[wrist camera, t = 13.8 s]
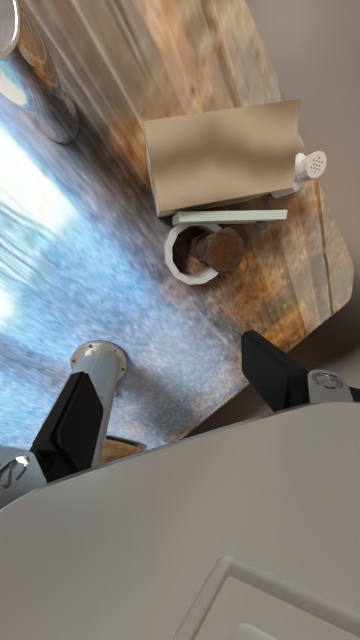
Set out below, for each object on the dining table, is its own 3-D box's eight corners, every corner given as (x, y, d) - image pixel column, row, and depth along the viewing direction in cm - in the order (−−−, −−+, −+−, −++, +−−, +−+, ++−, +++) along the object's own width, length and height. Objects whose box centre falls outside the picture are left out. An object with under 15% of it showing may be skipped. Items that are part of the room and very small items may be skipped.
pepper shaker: (261, 184, 35) (298, 167, 26) (276, 164, 34) (320, 139, 25) (273, 200, 36) (313, 188, 28) (288, 181, 35) (334, 162, 27)
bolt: (215, 245, 38) (253, 249, 24) (199, 265, 39) (228, 280, 25) (193, 226, 36) (222, 218, 22) (178, 248, 37) (196, 254, 23)
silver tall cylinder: (80, 90, 26) (9, -71, 13) (85, 152, 29) (31, 75, 15) (25, 76, 25) (-122, -121, 11) (35, 142, 27) (-72, 49, 14)
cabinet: (249, 266, 41) (286, 276, 30) (169, 284, 39) (177, 300, 29) (249, 145, 32) (300, 99, 21) (144, 162, 30) (143, 121, 20)
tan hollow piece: (79, 454, 56) (57, 522, 43) (96, 430, 53) (79, 494, 40) (124, 463, 62) (117, 526, 48) (142, 442, 59) (140, 502, 45)
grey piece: (251, 277, 39) (273, 286, 32) (166, 283, 37) (171, 294, 30) (259, 215, 34) (287, 209, 27) (162, 217, 32) (166, 212, 25)
